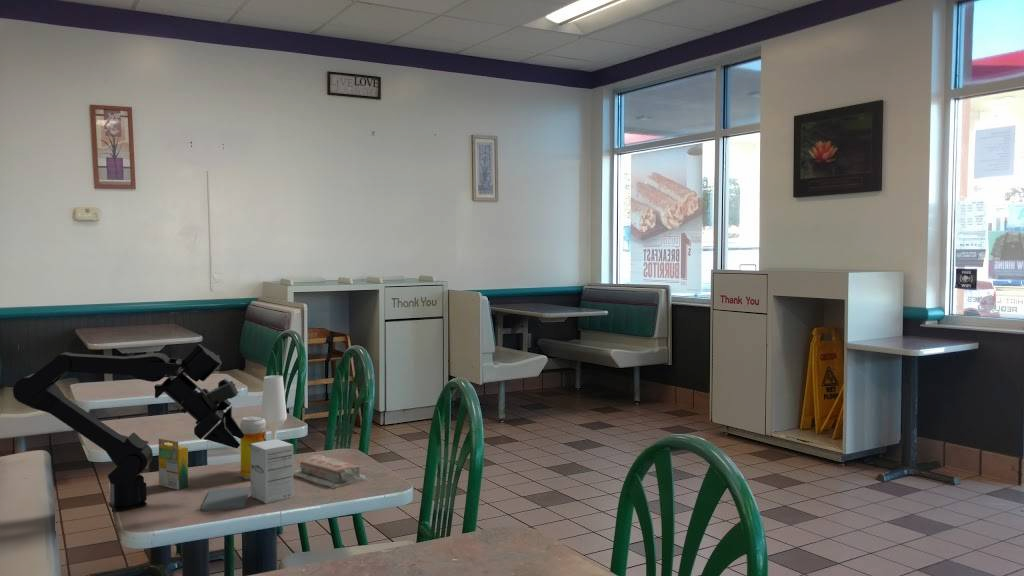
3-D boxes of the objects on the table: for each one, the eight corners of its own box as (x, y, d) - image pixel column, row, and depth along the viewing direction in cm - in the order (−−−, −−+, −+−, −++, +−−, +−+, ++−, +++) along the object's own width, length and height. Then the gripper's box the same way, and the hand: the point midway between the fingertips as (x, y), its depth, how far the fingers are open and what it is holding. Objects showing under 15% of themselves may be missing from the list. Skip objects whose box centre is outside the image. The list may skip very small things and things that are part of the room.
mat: (201, 510, 174) (201, 508, 174) (210, 491, 188) (210, 489, 188) (244, 508, 176) (243, 505, 176) (250, 489, 190) (250, 487, 190)
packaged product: (367, 462, 199) (334, 470, 191) (367, 481, 199) (334, 490, 191) (322, 450, 210) (290, 457, 202) (322, 468, 210) (290, 476, 203)
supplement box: (249, 496, 184) (249, 443, 184) (279, 490, 190) (278, 438, 189) (264, 504, 179) (264, 449, 179) (294, 497, 184) (294, 443, 184)
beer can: (261, 480, 198) (261, 420, 197) (237, 479, 198) (236, 420, 197) (269, 473, 204) (268, 415, 203) (245, 473, 204) (245, 415, 203)
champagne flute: (285, 462, 214) (284, 374, 213) (289, 468, 208) (288, 378, 207) (259, 464, 211) (258, 375, 210) (262, 471, 205) (261, 379, 204)
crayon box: (189, 487, 192) (188, 439, 191) (178, 490, 189) (177, 442, 188) (169, 482, 195) (168, 435, 195) (158, 485, 193) (157, 438, 192)
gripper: (209, 376, 171) (263, 425, 174) (220, 364, 189) (269, 408, 192) (170, 414, 170) (225, 462, 173) (186, 398, 188) (235, 442, 191)
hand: (240, 441), depth 182 cm, fingers open, 9 cm apart
